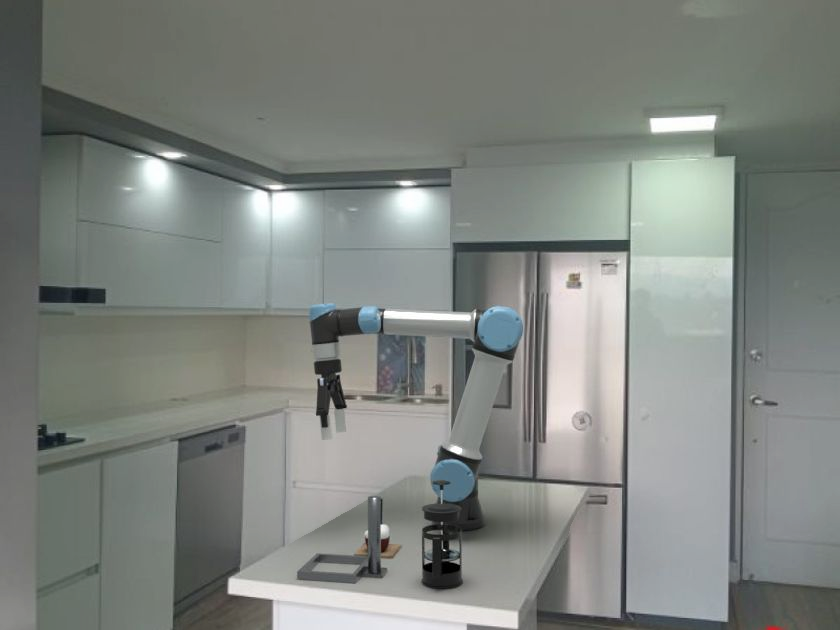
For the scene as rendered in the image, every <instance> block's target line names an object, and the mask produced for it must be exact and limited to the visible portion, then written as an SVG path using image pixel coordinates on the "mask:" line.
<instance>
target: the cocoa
mask: <svg viewBox="0 0 840 630" xmlns="http://www.w3.org/2000/svg"><path fill="white" fill-rule="evenodd" d="M383 500H384V499H383V498H382V497H381V552H383V551H384V550H386V549H387V547H388V545H389V544H390V533H391V531H390V526H388V524H383V504H384V503H383ZM364 541H365V542H364V543H366V546H367V548H368V529H367V530H366V531H365V532H364Z"/></svg>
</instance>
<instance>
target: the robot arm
mask: <svg viewBox="0 0 840 630" xmlns="http://www.w3.org/2000/svg"><path fill="white" fill-rule="evenodd" d="M308 310H309V322H308V323H309V327H310V335H311V345H312V348H311V350H310V351H311V353H312V356H313V357H312V358H313V360H315V361H314V362H313V369H314V370H313V371H314V374H315V375H316V376H317V375H321V376H320V378H317V379H316V382H317V390H316V393H317V395H316V406H315V407H316V409H315V410H316V411H315V415H316V416H317V417H318V416H319V424H320V434H321V441H323V440H332V439H333V433H332V432H333V431H332V422H331V414H329V412H330V407H331V400H332V402H333V403H332V404H333V406H334V410H333V411H334V422H335V423H334V424H335V432H336V433H346V432H347V426H346V417H345V416H346V415H345V409H347V408H348V405H347V403H346V402H347V401H346V398H345V395H344V390H343V387H342V383H341V382H342V381H341V375H340V374H338V373H341V372H342V360H341V359H340V357H341V347H340V342H339V341H340V338H339V337H347V336H360V335H362V336H363V335H371V334H372V335H391V336H392V335H393V336H394V335H395V336H415V337H429V338H430V337H431V338H448V339H451V338H452V339H467V340H471V341H472V342H473V345H472V346H471V350H472V352H473V354H474V359H473V363H472V365H471V368H470V372H469V375H468V378H467V381H466V384H465V387H464V390H463V394H462V397H461V400H460V403H459V406H458V410H457V413H456V416H455V419H454V422H453V423H454V424H453V426H452V429H451V431H450V436H449V438H448V439H447V440H446V441H444V442H442V443H441V444H440V445H438V448H437V453H436V455H437V458H436V461H435V464H434V466H433V468H432V469H431V472H430V477H429V478H430V479H429V480H430V486H431V488H432V491H433V492H434V493H435V495H436V496H437V499H436V501H435V502H436V503H435V504H437V503H441V490H440V487H439V485H435V484H433V483H432V482H433V481H437V480H446V481H450V482H451V483H450V484H448V485H444V490H442V503H446V504H454V505H458V506H460V507H461V511H460V512H459V519H458V520H455V521H450V522H443V524H448V525H454V526H458V527H460V528H461V530H462V531H470V530H476V529H479V528H482V527H483V526H484V525H485V515H484V511H483V508H482V504H481V503H480V499H479V469H480V466H481V463H482V459H483V455H482V453H481V452H480V448H481V445H482V441H483V437H484V435H485V432H486V429H487V425H488V423H489V419H490V416H491V414H492V410H493V406H494V403H495V401H496V397H497V395H498V391H499V387H500V386H501V382H502V378H503V376H504V372H505V370H506V366H508V365H510V364H511V363H513V362H514V361H515V360H514V359H515V357H516V353H517V350H518V347H519V344H520V341H521V339H522V337H523V333H524V323H523V320H522V318H521V316H520V315H519V313H518V312H517V311H515V310H514V309H513V308H511V307H508V306H503V305H498V306H493V307H491V308H487V309H486V308H485V309H483V308H482V309H479V308H475V309H474V310H472V312H467V311H450V310H449V311H445V310H427V309H426V310H425V309H423V310H422V309H421V310H420V309H398V308H378V307H377V306H373V305H371V306H366V305H365V306H361V307H353V308H345V309H337V307H336V304H335V303H332V302H330V303H321V304H320V303H319V304H313V305H311V306H310V307H309V309H308ZM435 524H441V522H434V521H431V525H435Z"/></svg>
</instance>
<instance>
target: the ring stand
mask: <svg viewBox="0 0 840 630" xmlns="http://www.w3.org/2000/svg"><path fill="white" fill-rule="evenodd" d="M381 498H382V497H381V496H380V495H368V496H367V530H368V556H354V554H353V555H350V554H336V553H320V552H319V553H317V552H316V554H315V555H313V556H312V557H311V558H310V559H309V560H308V561H307V562H306V563H305V564H304V565H302V566H301V567H300V568H299V569H298V570H297V571H296V579H297V580H299V581H300V580H302V581H316V582H318V581H320V582H331V583H333V582H335V583H346V584H348V583H349V584H357V583H358V581H359V580H360V579H361V578H374V579H375V578H378V579H383V578H384V576H386V574H387V573H388V567H382V562H381V561H382V558H381ZM319 563H329V564H330V563H331V564H342V565H343V564H345V565H346V564H347V565H359V566H358V567H357V568H356V569H355V570H354V571H353V572H352V573H348V572H332V571H318V570H317V571H315V570H313V569H314V568H315V567H316V566H318V564H319Z"/></svg>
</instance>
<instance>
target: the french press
mask: <svg viewBox="0 0 840 630" xmlns="http://www.w3.org/2000/svg"><path fill="white" fill-rule="evenodd" d="M432 483H433V484H435V485H439V487H440V490H441V503H437V504H436V503H430V504H425V505H424V506H422V507H421V510H422V512H423V519H425V520H426V521H430V522H432V521H434V522H441V524H435V525H432V524H431V525H429V524H428V525H426V526H424V527H422V528H421V552H422V553H421V557H422V558H421V561H422V562H421V570H422V571H421V572H422V577H421V582H420V583H421V584H422V586H424V587H426V588H430V589H435V590H449V589H455V588H458V587H460V586H462V584H463V582H464V580H463V578H462V576H463V573H462V572H463V569H462V565H463V564H462V563H463V562H462V559H463V557H462V555H463V553H462V551H463V550H462V548H463V547H462V546H463V545H462V543H463V542H462V537H463V536H462V531H463V530H461V528H460V527H458V526H454V525H448V524H443V522H450V521H455V520H458V519H459V512H460V511H461V507H460V506H458V505H454V504H446V503H442V490H444V485H448V484H450V483H451V482H450V481H446V480H437V481H433V482H432ZM431 531H432V532H433V531H440V534H434V533H429V532H431ZM450 531H451V532H455V533H451V534H450ZM425 539H427V540H430V541H432V544H431V545H432V547H431V548H432V549H429V550H426V551H425V549H426V548H425V541H426V540H425ZM457 539H459V541H458V542H459V551H457V550H455V549H452V548H450V541H454V540H457ZM425 559H426V560H427V561H431V562H428V563H426V562H425V561H426V560H425ZM456 560H459V563H456V562H454V561H456Z"/></svg>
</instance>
